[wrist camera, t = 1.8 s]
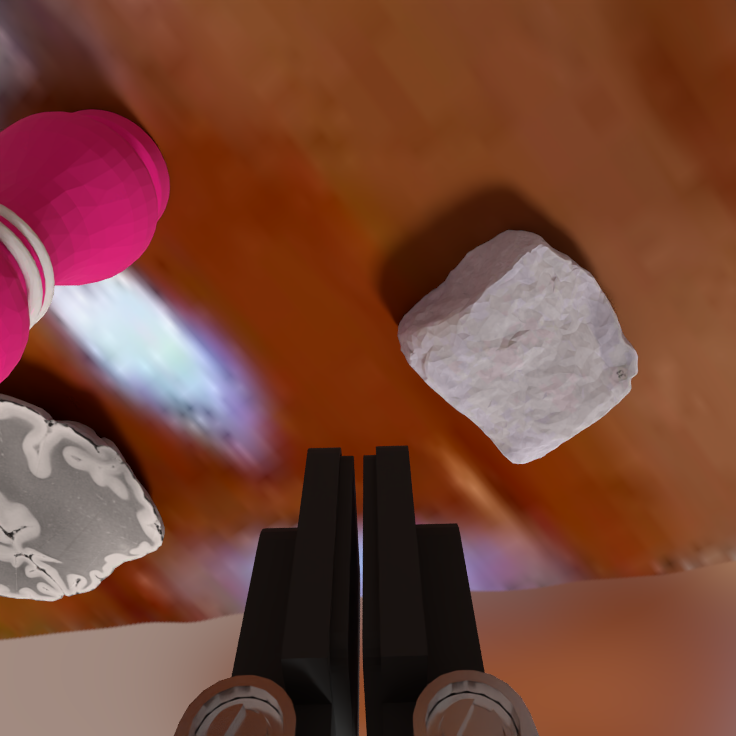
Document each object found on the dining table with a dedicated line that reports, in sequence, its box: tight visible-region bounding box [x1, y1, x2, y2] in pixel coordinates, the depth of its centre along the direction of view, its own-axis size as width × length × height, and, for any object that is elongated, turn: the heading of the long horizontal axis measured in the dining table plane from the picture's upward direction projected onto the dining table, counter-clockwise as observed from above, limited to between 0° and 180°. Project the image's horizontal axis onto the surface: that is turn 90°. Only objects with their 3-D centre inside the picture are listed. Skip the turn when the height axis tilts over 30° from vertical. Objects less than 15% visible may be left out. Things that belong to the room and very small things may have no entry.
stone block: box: [398, 230, 638, 464], centre depth 36 cm, size 12×5×10 cm
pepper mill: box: [0, 109, 170, 383], centre depth 23 cm, size 7×7×20 cm
